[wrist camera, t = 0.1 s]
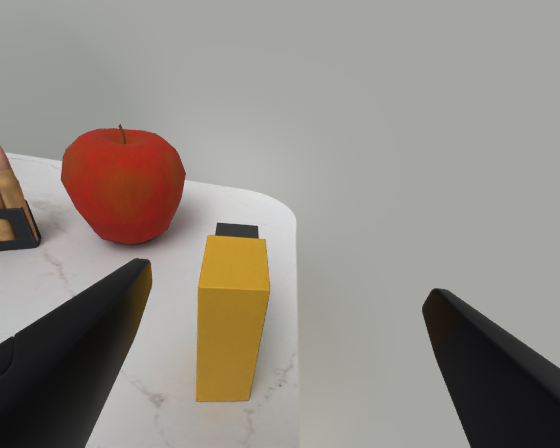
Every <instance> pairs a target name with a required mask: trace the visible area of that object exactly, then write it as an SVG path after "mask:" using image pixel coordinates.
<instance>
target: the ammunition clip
mask: <svg viewBox="0 0 560 448" xmlns="http://www.w3.org/2000/svg"><path fill="white" fill-rule="evenodd" d="M40 240H41V235H40V232H39V230H38V227H37V225H36V223H35V220H34V218H33V215H32V213H31V210H30V208H29V205H28V203H27V200H25V199H24V196H23V193H22V190H21V187H20V184H19V181H18V180H17V178H16V176H15V175H14V173H13V170H12V168H11V166H10V163H9V161H8V158H7V156H6V154H5V153H4V151H3V149H2V148H1V146H0V251H4V250H15V249H27V248H36V247H37V246H38V245H39V242H40Z"/></svg>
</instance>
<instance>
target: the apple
mask: <svg viewBox="0 0 560 448" xmlns="http://www.w3.org/2000/svg"><path fill="white" fill-rule="evenodd" d="M119 128H120V129H114V128H113V129H96V130H93V131H90V132H87V133H85V134H83V135H81V136H79V137H78V138H77V139H76V140H75V141H74V142H73V143H72V144H71V145H70V146H69V147H68V148H67V149H66V151H65V153H64V155H63V162H62V172H61V181H62V183H63V185H64V187H65V189H66V191H67V192H68V194H69V196H70V198H71V200H72V202H73V204H74V206H75V208H76V209H77V210H78V211H79V213H80V214H81V215H82V216H83V218H84V219H85V220H86V221H87V222H88V224H89V225H90V226H91V227H92V229H93V230H94V231H95V232H96V233H97V234H98V235H99V236H100V237H101V238H102V239H105V240H109V241H113V242H118V243H123V244H137V243H142V242H145V241H148V240H150V239H152V238H154V237H156V236H158V235H160V234H161V233H163V232H165V231H166V230H167V229H168V227H169V225H170V223H171V221H172V218H173V216H174V214H175V212H176V210H177V208H178V205H179V203H180V201H181V198H182V192H183V186H184V180H185V175H186V173H185V170H184V167H183V165H182V162H181V159H180V156H179V154H178V153H177V151H176V149H175V148H174V147H172V146H171V145H170V144H169V143H168V142H167V141H166V140H164V139H163V138H162V137H160V136H158V135H157V134H155V133H151V132H147V131H140V130H127V129H122V126H121V125H119Z"/></svg>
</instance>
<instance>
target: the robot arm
mask: <svg viewBox="0 0 560 448" xmlns="http://www.w3.org/2000/svg"><path fill="white" fill-rule="evenodd" d="M151 287H152V271H151V263H150V261H149V260H148V259H138V258H136V259H133V260H131V261H130V262H128V263H127V264H125V265H124V266H122V267H120V268H119V269H117V270H116V271H114V272H113V273H111V274H109V275H108V276H106V277H105V278H103V279H102V280H100V281H98V282H97V283H95V284H94V285H92V286H90V287H89V288H87V289H86V290H84V291H83V292H81V293H79V294H78V295H76V296H75V297H73V298H72V299H70V300H68V301H67V302H65V303H64V304H62V305H61V306H59V307H57V308H56V309H54V310H53V311H51V312H49V313H48V314H46V315H45V316H43V317H42V318H40V319H38V320H37V321H35V322H34V323H32V324H31V325H29V326H27V327H26V328H24V329H23V330H21V331H19V332H18V333H16V334H15V336H14V337H10V338H8V339H7V340H5V341H4V342H2V343H0V448H85V446H86V444H87V441H88V439H89V437H90V435H91V433H92V431H93V428H94V426H95V424H96V422H97V420H98V417H99V415H100V413H101V411H102V409H103V406H104V404H105V402H106V400H107V398H108V395H109V393H110V391H111V389H112V387H113V385H114V382H115V380H116V378H117V376H118V374H119V371H120V369H121V367H122V365H123V363H124V360H125V358H126V356H127V354H128V352H129V349H130V347H131V345H132V343H133V341H134V338H135V336H136V333H137V330H138V327H139V324H140V321H141V318H142V315H143V312H144V309H145V306H146V303H147V300H148V297H149V293H150V290H151ZM422 312H423V316H424V320H425V323H426V327H427V330H428V334H429V337H430V341H431V344H432V348H433V351H434V354H435V357H436V360H437V363H438V366H439V368H440V370H441V373H442V376H443V378H444V381H445V383H446V386H447V388H448V391H449V393H450V396H451V398H452V401H453V404H454V406H455V409H456V411H457V414H458V416H459V419H460V421H461V424H462V426H463V429H464V431H465V434H466V437H467V439H468V442H469V444H470V447H471V448H560V368H558V367H557V366H556V365H554V364H553V363H551V362H550V361H548V360H547V359H545V358H544V357H543V356H541V355H540V354H538V353H537V352H535V351H534V350H533V349H531V348H530V347H528V346H527V345H526V344H524V343H523V342H521V341H520V340H518V339H517V338H516V337H514V336H513V335H511V334H510V333H508V332H507V331H506V330H504V329H502V328H501V327H500V326H498V325H497V324H496V323H494V322H493V321H491V320H489V319H488V318H487V317H486V316H484V315H483V314H481V313H480V312H478V311H477V310H476V309H474V308H472V307H471V306H470V305H468V304H467V303H465V302H464V301H463V300H461V299H460V298H458V297H457V296H456V295H454V294H453V293H451V292H450V291H448V290H446V289H439V288H435V289H433V290H432V291H431V292H430V294H429V296H428V297H427V299H426V301H425V303H424V304H423V307H422Z"/></svg>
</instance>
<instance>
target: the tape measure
mask: <svg viewBox="0 0 560 448" xmlns="http://www.w3.org/2000/svg"><path fill="white" fill-rule="evenodd" d="M269 294H270V282H269V271H268V260H267V249H266V240H265V239H259V236H258V226H252V225H240V224H227V223H217V227H216V234H215V235H208V237H207V242H206V248H205V253H204V258H203V263H202V269H201V274H200V279H199V285H198V320H197V381H196V401H248V400H249V397H250V392H251V387H252V382H253V377H254V371H255V366H256V361H257V356H258V351H259V346H260V341H261V336H262V330H263V325H264V320H265V315H266V310H267V305H268V300H269Z"/></svg>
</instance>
